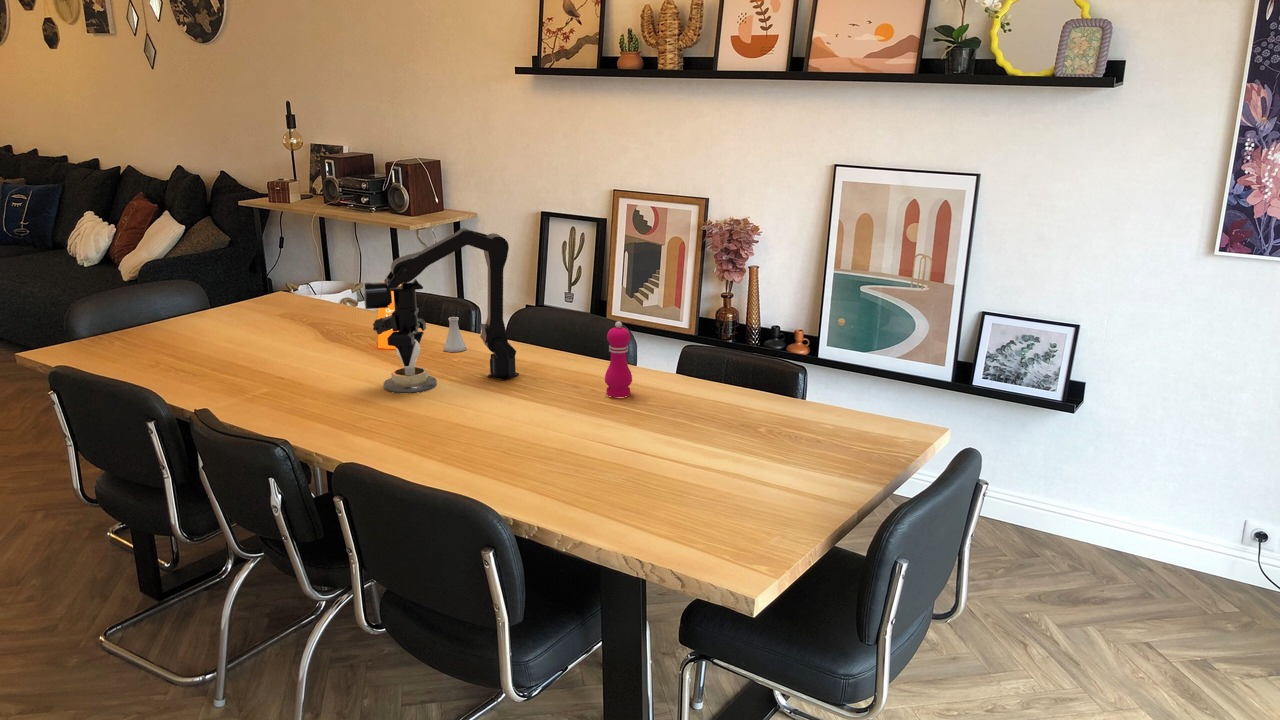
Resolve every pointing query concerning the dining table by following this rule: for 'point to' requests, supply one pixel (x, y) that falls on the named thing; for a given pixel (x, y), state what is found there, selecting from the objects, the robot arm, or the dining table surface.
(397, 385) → the holder
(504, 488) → the dining table surface
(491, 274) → the robot arm
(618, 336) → the pepper mill
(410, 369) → the lightbulb
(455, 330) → the flask
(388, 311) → the orange juice
